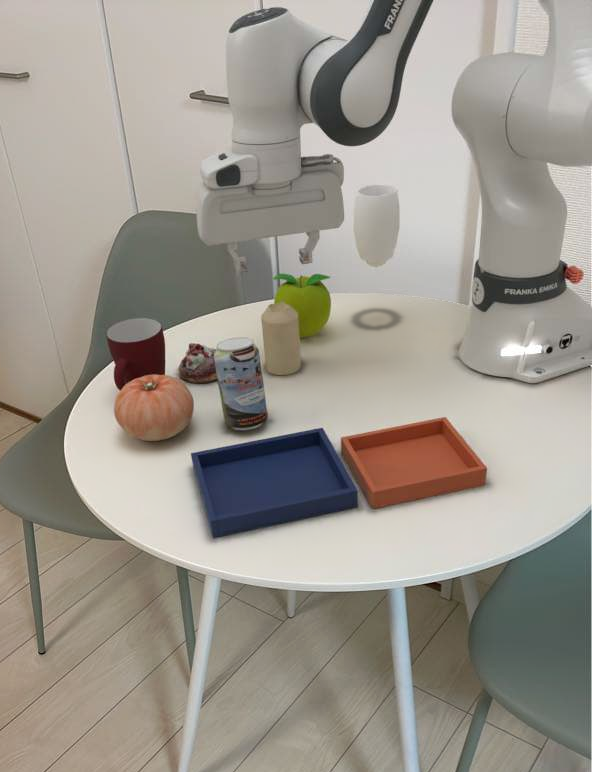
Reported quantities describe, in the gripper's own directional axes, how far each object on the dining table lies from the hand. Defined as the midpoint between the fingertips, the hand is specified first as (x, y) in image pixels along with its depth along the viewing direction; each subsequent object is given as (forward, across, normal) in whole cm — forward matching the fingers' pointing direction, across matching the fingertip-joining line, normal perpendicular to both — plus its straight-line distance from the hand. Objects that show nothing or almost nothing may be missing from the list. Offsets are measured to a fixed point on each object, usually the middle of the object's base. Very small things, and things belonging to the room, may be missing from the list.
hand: (274, 267), depth 107 cm
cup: (+16, -20, -11) cm, 27 cm away
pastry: (+16, +11, -3) cm, 20 cm away
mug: (+16, +21, +1) cm, 27 cm away
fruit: (+16, -6, -10) cm, 20 cm away
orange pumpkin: (+16, +20, +12) cm, 29 cm away
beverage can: (+16, +8, +14) cm, 23 cm away
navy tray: (+16, +8, +30) cm, 35 cm away
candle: (+16, -1, 0) cm, 16 cm away
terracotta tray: (+16, -9, +32) cm, 37 cm away
